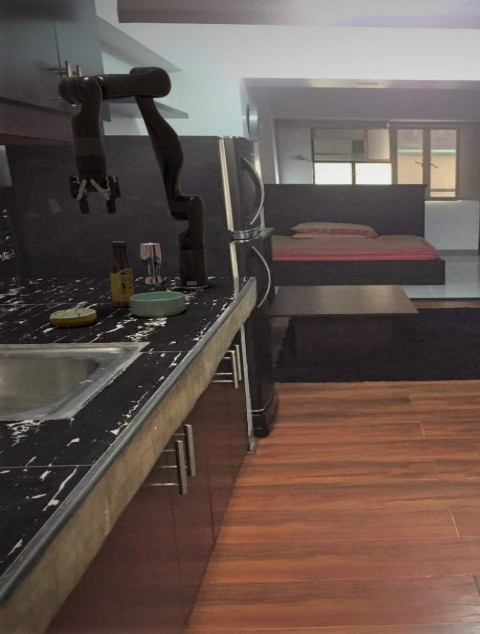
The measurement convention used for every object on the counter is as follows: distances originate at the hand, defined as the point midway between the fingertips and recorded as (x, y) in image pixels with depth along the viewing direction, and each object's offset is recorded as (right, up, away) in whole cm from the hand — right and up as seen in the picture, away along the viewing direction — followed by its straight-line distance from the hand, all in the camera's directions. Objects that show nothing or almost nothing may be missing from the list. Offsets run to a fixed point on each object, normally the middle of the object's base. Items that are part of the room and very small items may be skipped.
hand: (98, 213), depth 168 cm
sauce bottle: (-1, -26, +17) cm, 31 cm away
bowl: (+13, -28, +8) cm, 32 cm away
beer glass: (-11, -17, +57) cm, 61 cm away
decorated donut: (-3, -31, -7) cm, 32 cm away
